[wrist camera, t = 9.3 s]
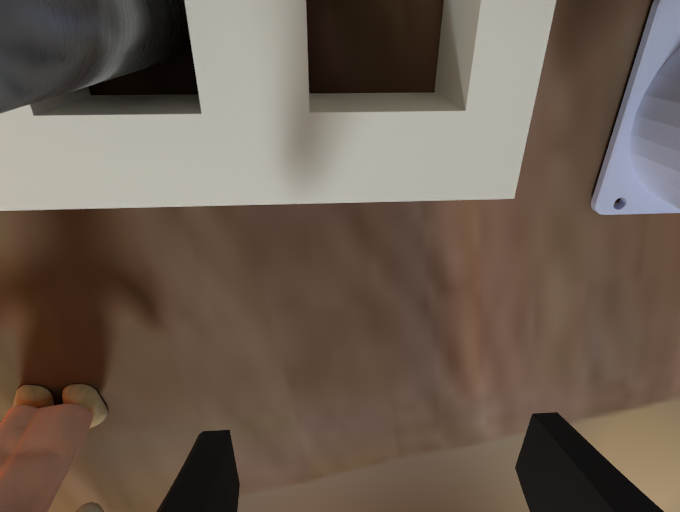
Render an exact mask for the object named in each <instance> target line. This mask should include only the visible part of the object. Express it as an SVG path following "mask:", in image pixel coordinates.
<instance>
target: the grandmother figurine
mask: <svg viewBox="0 0 680 512" xmlns="http://www.w3.org/2000/svg"><path fill="white" fill-rule="evenodd" d="M62 398H63V404H60V405H55V406H54V402H53V397H52V394H51V393H50V391H49V390H47V389H45V388H44V387H41V386H35V385H23V386H21V387H20V388H19V389H18V390H17V392H16V395H15V399H14V403H13V407H12V408H11V409H9V410H8V412H7V414H6V415H5V417H4V418H3V420H2V421H1V423H0V512H48V510H49V508H50V506H51V504H52V502H53V500H54V498H55V496H56V494H57V492H58V490H59V488H60V486H61V484H62V482H63V480H64V478H65V476H66V474H67V473H68V471H69V469H70V467H71V466H72V464H73V462H74V460H75V459H76V457H77V455H78V453H79V452H80V450H81V448H82V446H83V444H84V442H85V437H86V435H87V433H88V431H89V428H92V427H94V426H96V425H98V424H100V423H101V422H102V421H103V420H104V419H105V418H106V417H107V414H108V410H107V408H106V406H105V404H104V402H103V401H102V399H101V398H100V396H99V394H98V393H97V391H96V390H95V389H94V388H92V387H91V386H88V385H84V384H73V385H69V386H67V387H65V389H64V390H63V394H62ZM76 512H104V511H103V509H102V507H101V506H100V505H99V504H97V503H93V502H90V503H86V504H84V505H82V506H81V507H80V508H79V509H78V510H77V511H76Z"/></svg>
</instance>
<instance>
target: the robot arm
mask: <svg viewBox="0 0 680 512" xmlns="http://www.w3.org/2000/svg"><path fill="white" fill-rule="evenodd" d="M619 198H620V201H619V203H617V204H616V205H614V203H615V201H616V200H617V199H619ZM591 207H592V209H593V210H595V211H596V212H597V213H599V214H602V215H613V214H651V213H680V0H654V2H653V4H652V7H651V10H650V13H649V16H648V20H647V23H646V26H645V29H644V33H643V36H642V39H641V42H640V45H639V49H638V52H637V55H636V58H635V62H634V65H633V68H632V71H631V75H630V78H629V81H628V84H627V88H626V91H625V94H624V97H623V101H622V104H621V107H620V110H619V113H618V117H617V120H616V123H615V126H614V130H613V133H612V136H611V139H610V143H609V146H608V149H607V152H606V156H605V159H604V162H603V165H602V168H601V172H600V175H599V178H598V181H597V185H596V188H595V191H594V194H593V198H592V201H591ZM515 468H516V472H517V475H518V478H519V481H520V484H521V487H522V490H523V493H524V496H525V499H526V502H527V504H528V507H529V510H530V512H664V511H663V510H661V509H660V508H659V507H658V506H657V505H656V504H655V503H654V502H652V501H651V500H650V499H649V498H648V497H647V496H646V495H645V494H644V493H642V492H641V491H640V490H639V489H638V488H637V487H636V486H635V485H634V484H633V483H631V482H630V481H629V480H628V479H627V478H626V477H625V476H624V475H623V474H622V473H621V472H620V471H618V470H617V469H616V468H615V467H614V466H613V465H612V464H611V463H610V462H609V461H608V460H607V459H606V458H605V457H604V456H602V455H601V454H600V453H599V452H598V451H597V450H596V449H595V448H594V447H593V446H592V445H591V444H590V443H589V442H588V441H587V440H586V439H585V438H583V437H582V436H581V435H580V434H579V433H578V432H577V431H576V430H575V429H574V428H573V427H572V426H571V425H570V424H569V423H568V422H567V421H566V420H565V419H564V418H562V417H561V416H560V415H559V414H558V413H557V412H555V413H537V414H532V417H531V420H530V423H529V426H528V429H527V432H526V435H525V438H524V442H523V445H522V448H521V451H520V454H519V457H518V460H517V464H516V467H515ZM239 486H240V484H239V478H238V473H237V468H236V462H235V457H234V451H233V446H232V441H231V435H230V430H220V431H203V432H202V433H200V434H199V435H198V437H197V439H196V441H195V444H194V446H193V448H192V450H191V451H190V453H189V455H188V457H187V459H186V461H185V463H184V465H183V467H182V469H181V470H180V472H179V474H178V476H177V478H176V479H175V481H174V483H173V485H172V486H171V488H170V490H169V492H168V494H167V495H166V497H165V499H164V500H163V502H162V504H161V505H160V507H159V509H158V510H157V512H237V508H238V497H239Z"/></svg>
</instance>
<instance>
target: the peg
mask: <svg viewBox="0 0 680 512" xmlns="http://www.w3.org/2000/svg"><path fill="white" fill-rule="evenodd" d="M188 36H189V28H188V21H187V14H186V8H185V1H184V0H0V113H4V112H7V111H10V110H13V109H17V108H20V107H23V106H26V105H29V104H33V103H36V102H39V101H42V100H45V99H49V98H52V97H55V96H58V95H62V94H65V93H68V92H71V91H74V90H78V89H81V88H84V87H87V86H90V85H94V84H97V83H100V82H103V81H107V80H110V79H113V78H116V77H119V76H123V75H126V74H129V73H132V72H135V71H139V70H142V69H145V68H148V67H152V66H155V65H158V64H161V63H164V62H167V61H169V60H171V59H173V58H174V57H175V56H177V55H178V54H179V53H180V51H181V50H182V49H183V47H184V46H185V44H186V42H187V39H188Z"/></svg>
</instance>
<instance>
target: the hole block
mask: <svg viewBox="0 0 680 512" xmlns="http://www.w3.org/2000/svg"><path fill="white" fill-rule="evenodd" d="M184 1H185V8H186V14H187V21H188V28H189V34H190V41H191V47H192V54H193V61H194V67H195V74H196V80H197V87H198V94H195V95H90V91H89V87H88V86H87V87H84V88H81V89H78V90H74V91H71V92H68V93H65V94H62V95H58V96H55V97H52V98H49V99H45V100H42V101H39V102H36V103H33V104H29V105H26V106H23V107H20V108H17V109H13V110H10V111H7V112H4V113H0V211H12V210H54V209H97V208H140V207H182V206H225V205H268V204H310V203H353V202H396V201H438V200H481V199H514V197H515V192H516V187H517V182H518V178H519V173H520V168H521V164H522V159H523V154H524V150H525V145H526V140H527V136H528V131H529V126H530V122H531V117H532V112H533V108H534V103H535V98H536V94H537V89H538V84H539V80H540V75H541V70H542V66H543V61H544V56H545V51H546V47H547V42H548V37H549V33H550V28H551V23H552V19H553V14H554V9H555V5H556V0H444V4H443V13H442V23H441V33H440V42H439V52H438V62H437V71H436V81H435V91H434V92H430V93H312V94H309V72H308V41H307V9H306V0H184Z"/></svg>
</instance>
